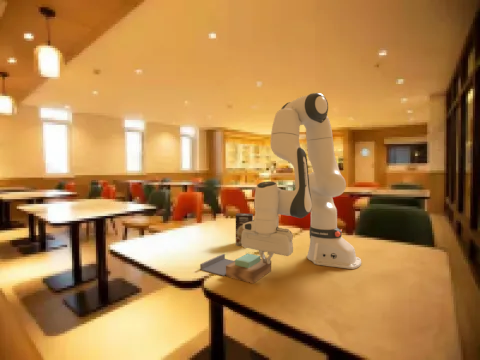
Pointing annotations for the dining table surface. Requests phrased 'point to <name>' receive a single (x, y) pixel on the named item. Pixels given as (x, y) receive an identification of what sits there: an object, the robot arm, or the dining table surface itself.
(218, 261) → the tray
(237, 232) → the coffee box
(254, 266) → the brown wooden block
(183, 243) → the dining table surface
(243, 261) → the pale green rectangular block
